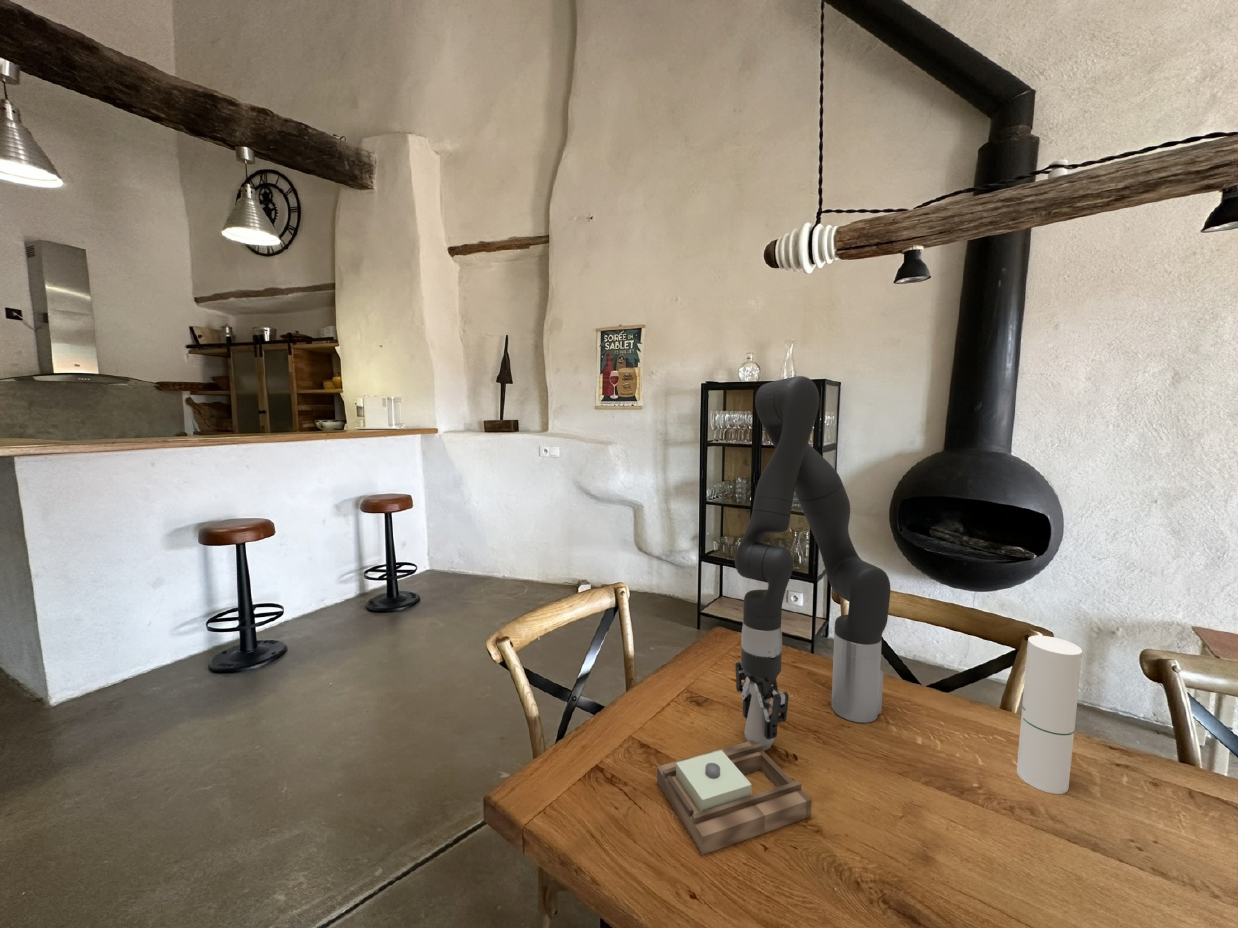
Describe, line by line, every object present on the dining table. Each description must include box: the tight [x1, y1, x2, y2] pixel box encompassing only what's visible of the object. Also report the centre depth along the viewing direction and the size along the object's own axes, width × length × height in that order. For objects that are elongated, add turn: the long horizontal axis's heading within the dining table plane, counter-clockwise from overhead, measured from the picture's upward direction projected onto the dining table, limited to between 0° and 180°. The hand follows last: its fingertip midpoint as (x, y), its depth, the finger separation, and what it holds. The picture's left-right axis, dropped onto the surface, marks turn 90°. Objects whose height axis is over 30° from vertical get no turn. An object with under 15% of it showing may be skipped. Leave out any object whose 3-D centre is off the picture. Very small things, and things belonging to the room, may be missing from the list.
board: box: [656, 740, 812, 856], centre depth 88 cm, size 20×16×4 cm
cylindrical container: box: [1016, 635, 1083, 795], centre depth 91 cm, size 7×7×25 cm
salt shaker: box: [743, 682, 776, 752], centre depth 101 cm, size 6×6×13 cm
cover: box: [676, 750, 753, 812], centre depth 86 cm, size 9×9×4 cm
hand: (759, 726), depth 102 cm, fingers open, 6 cm apart
